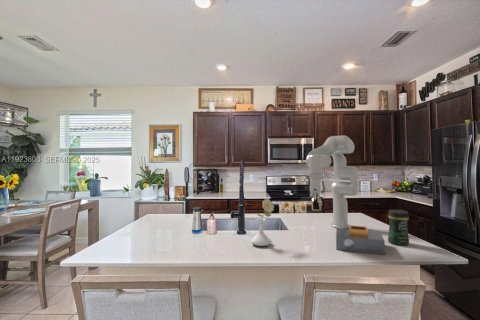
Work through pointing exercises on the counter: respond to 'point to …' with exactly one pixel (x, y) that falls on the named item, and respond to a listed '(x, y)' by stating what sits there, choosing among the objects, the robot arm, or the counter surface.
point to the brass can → (319, 204)
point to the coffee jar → (398, 227)
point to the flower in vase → (261, 237)
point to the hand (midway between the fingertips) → (316, 208)
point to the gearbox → (360, 240)
